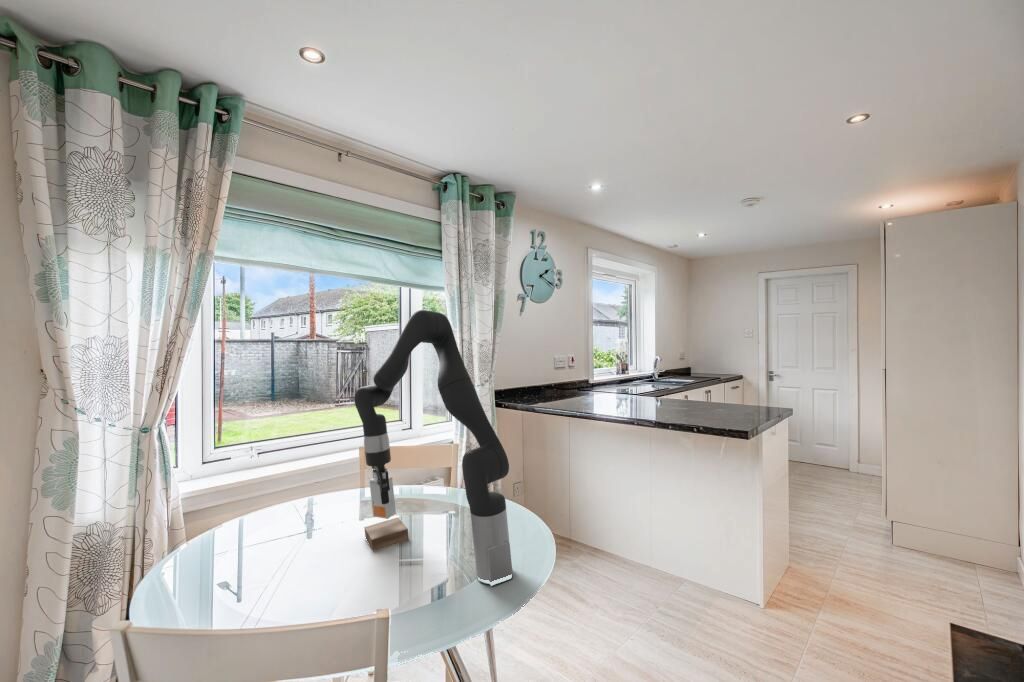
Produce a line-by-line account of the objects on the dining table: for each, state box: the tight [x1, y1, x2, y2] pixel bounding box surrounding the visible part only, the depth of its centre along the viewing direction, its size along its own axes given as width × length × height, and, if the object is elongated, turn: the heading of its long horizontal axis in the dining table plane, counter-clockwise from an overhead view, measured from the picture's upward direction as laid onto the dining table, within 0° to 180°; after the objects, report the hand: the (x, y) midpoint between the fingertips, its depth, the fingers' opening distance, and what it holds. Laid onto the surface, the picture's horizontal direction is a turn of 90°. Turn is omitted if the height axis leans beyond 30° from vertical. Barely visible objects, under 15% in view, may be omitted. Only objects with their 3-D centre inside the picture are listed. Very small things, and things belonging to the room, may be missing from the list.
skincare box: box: [368, 476, 397, 520], centre depth 144 cm, size 6×4×12 cm
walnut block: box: [364, 517, 410, 552], centre depth 144 cm, size 11×11×4 cm
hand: (382, 499), depth 144 cm, fingers closed on skincare box, 7 cm apart
